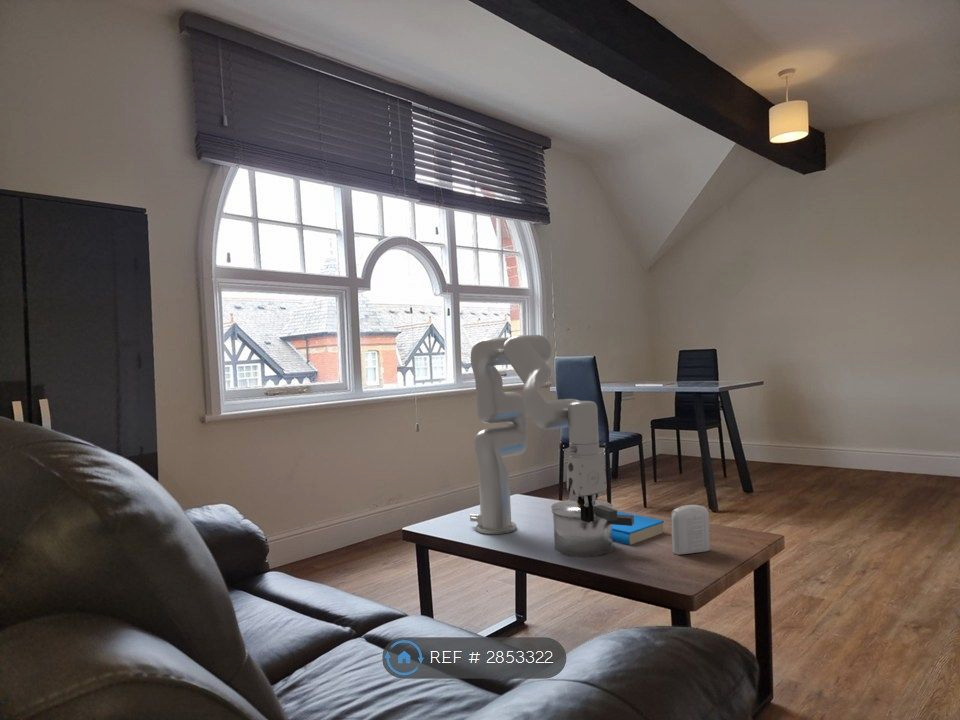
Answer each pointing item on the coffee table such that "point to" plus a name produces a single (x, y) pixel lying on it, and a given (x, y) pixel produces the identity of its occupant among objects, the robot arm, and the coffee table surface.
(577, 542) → the cooker pot
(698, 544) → the white arched block
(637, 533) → the book
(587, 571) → the coffee table surface
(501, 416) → the robot arm
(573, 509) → the lid
